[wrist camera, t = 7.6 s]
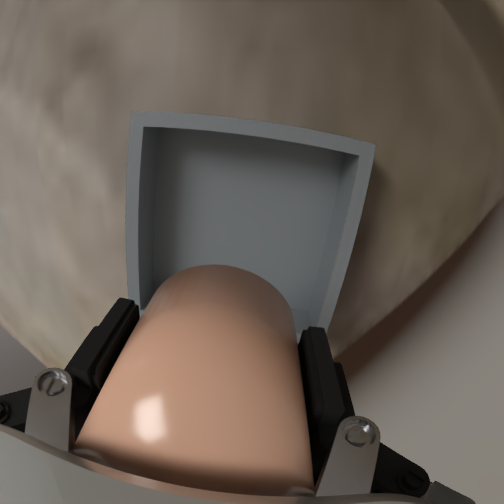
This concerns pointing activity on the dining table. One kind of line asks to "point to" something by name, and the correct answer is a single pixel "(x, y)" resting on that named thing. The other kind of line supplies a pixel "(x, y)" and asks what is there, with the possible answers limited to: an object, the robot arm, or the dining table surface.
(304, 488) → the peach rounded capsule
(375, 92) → the dining table surface
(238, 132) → the bin
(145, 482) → the robot arm
